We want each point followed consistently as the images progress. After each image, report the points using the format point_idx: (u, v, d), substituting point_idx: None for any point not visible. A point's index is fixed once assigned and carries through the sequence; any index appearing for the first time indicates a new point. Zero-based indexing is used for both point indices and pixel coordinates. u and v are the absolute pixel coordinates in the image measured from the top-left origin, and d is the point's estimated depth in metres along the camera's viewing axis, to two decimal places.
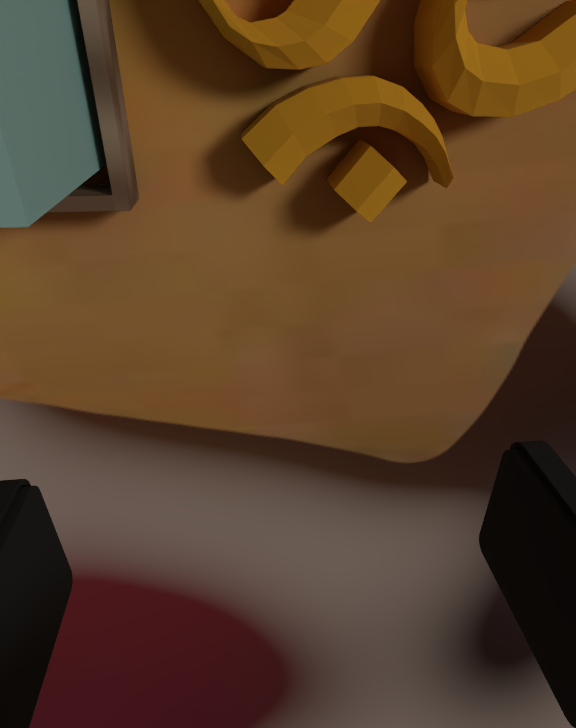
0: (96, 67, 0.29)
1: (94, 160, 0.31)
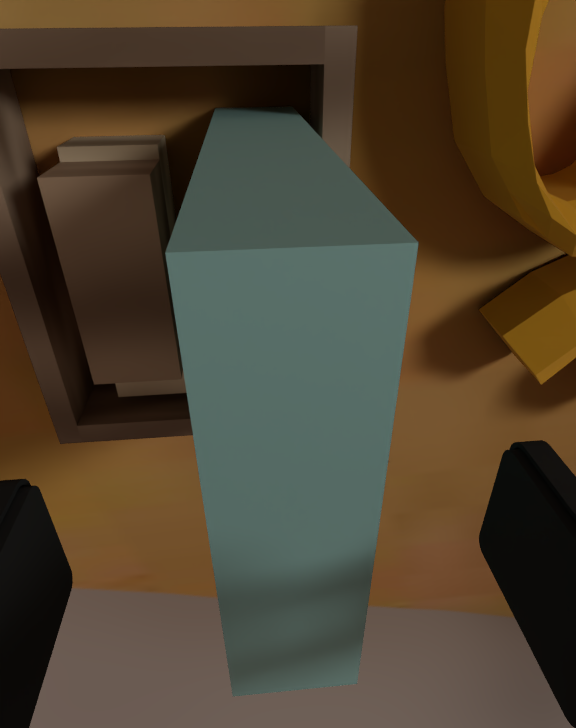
0: None
1: None
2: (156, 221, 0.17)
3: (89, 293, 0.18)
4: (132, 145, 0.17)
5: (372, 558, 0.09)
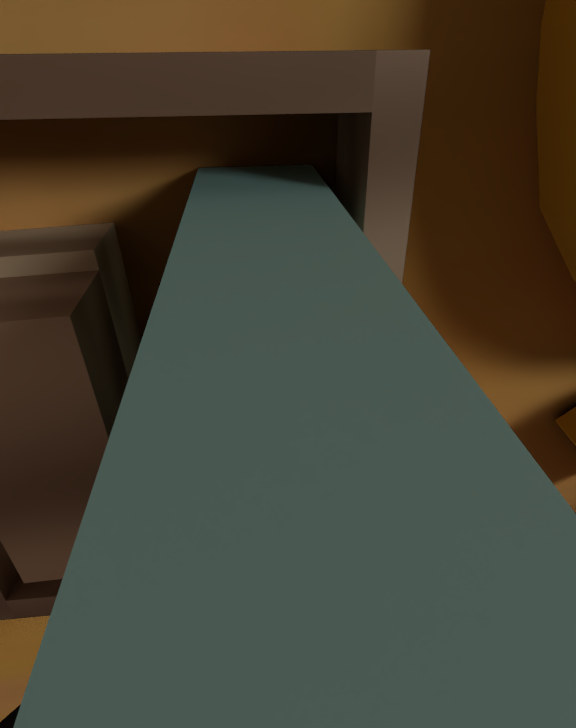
0: None
1: None
2: (89, 379, 0.10)
3: None
4: (55, 253, 0.11)
5: None
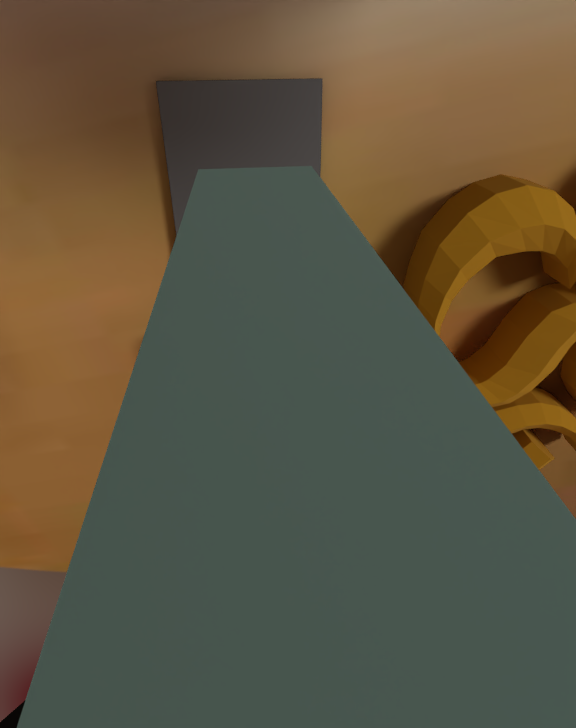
0: None
1: None
2: None
3: None
4: None
5: None
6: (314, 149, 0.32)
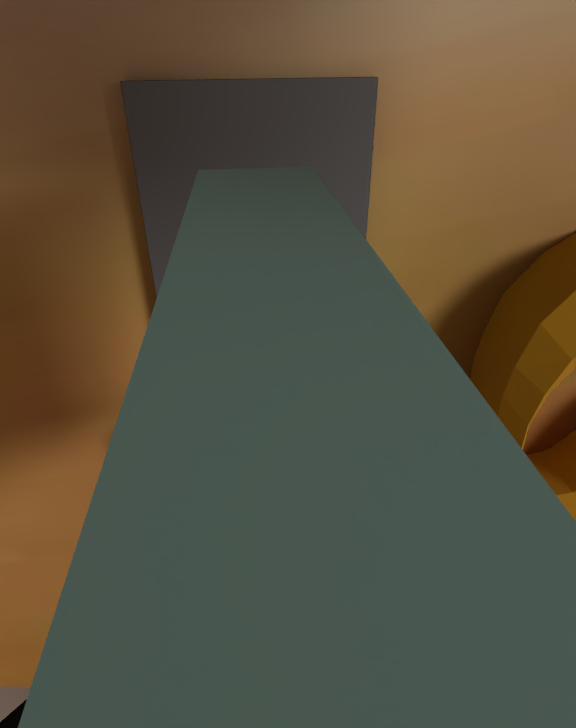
0: None
1: None
2: None
3: None
4: None
5: None
6: (360, 182, 0.21)
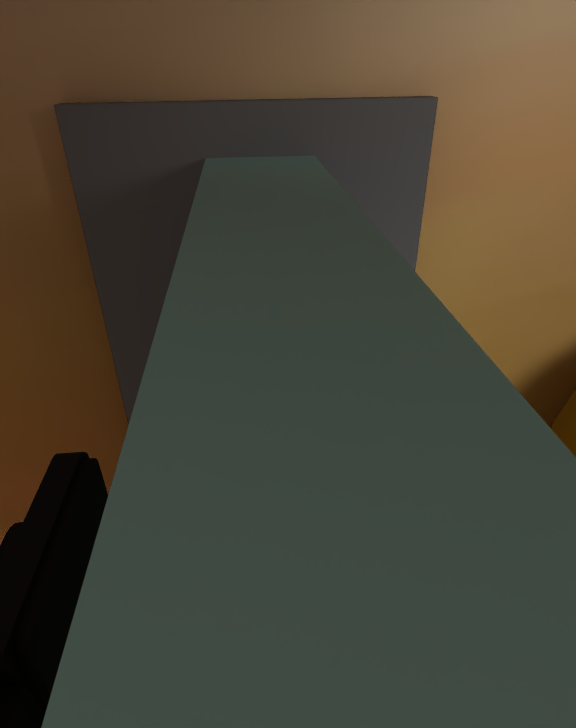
0: None
1: None
2: None
3: None
4: None
5: None
6: (405, 243, 0.15)
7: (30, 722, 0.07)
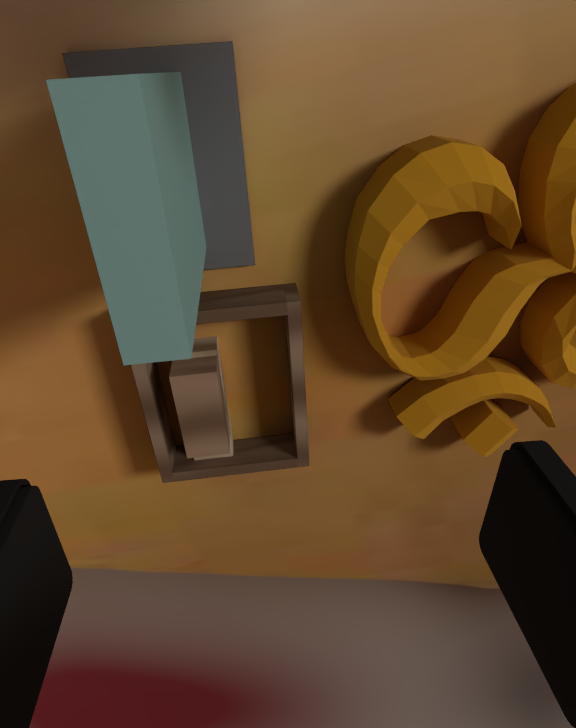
0: (297, 390, 0.39)
1: (202, 254, 0.32)
2: (218, 388, 0.37)
3: (188, 419, 0.38)
4: (205, 351, 0.38)
5: (170, 252, 0.19)
6: (233, 115, 0.31)
7: None
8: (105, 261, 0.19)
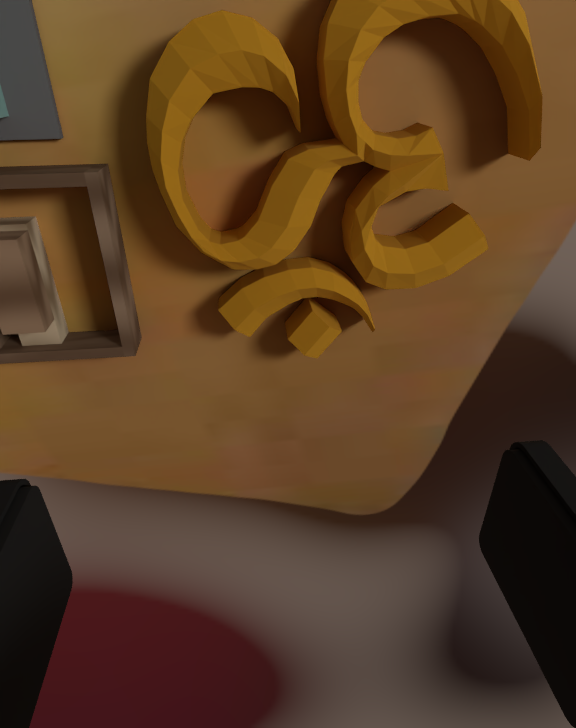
0: (110, 271, 0.41)
1: None
2: (22, 258, 0.38)
3: None
4: (14, 224, 0.39)
5: None
6: None
7: None
8: None
